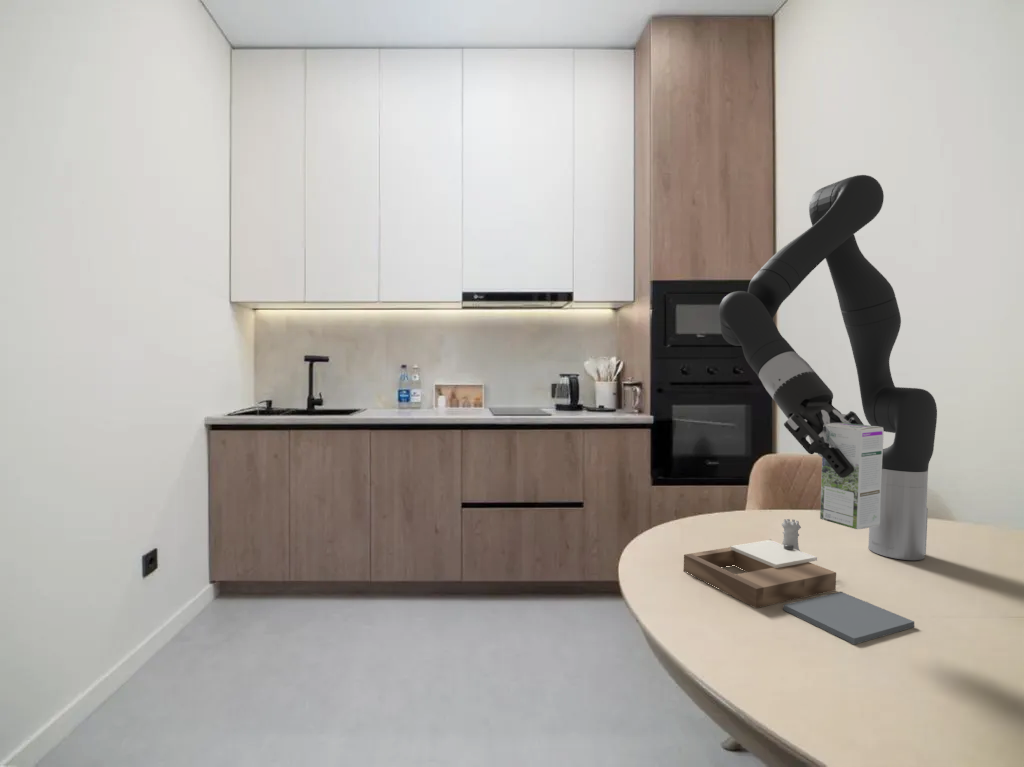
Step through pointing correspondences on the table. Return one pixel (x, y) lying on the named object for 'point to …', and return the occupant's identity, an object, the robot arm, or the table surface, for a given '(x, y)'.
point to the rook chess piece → (791, 533)
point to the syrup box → (854, 477)
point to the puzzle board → (759, 577)
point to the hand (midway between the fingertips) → (863, 472)
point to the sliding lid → (773, 553)
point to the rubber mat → (848, 617)
